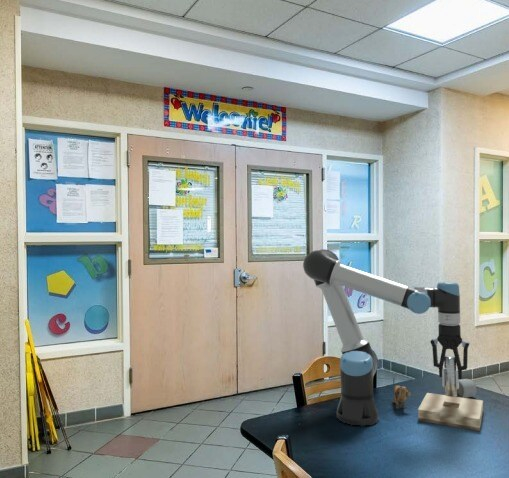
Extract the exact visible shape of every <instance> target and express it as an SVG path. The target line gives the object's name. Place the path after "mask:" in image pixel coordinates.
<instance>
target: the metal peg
mask: <svg viewBox="0 0 509 478" xmlns="http://www.w3.org/2000/svg"><path fill="white" fill-rule="evenodd" d="M443 368H444V369H445V387H444V395H446V396H449V397H456V396H457V389H456V369H457V364H456V360H455V356H453V355H445V357H444V364H443Z"/></svg>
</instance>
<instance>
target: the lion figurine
mask: <svg viewBox="0 0 509 478" xmlns="http://www.w3.org/2000/svg"><path fill="white" fill-rule="evenodd" d="M411 394H412V392H410V391H409V390H408V389H407V387H406V386H404V385H403V386H400V385H395V386H394V390H393V401H392V403H395V405H396V406H395V408H396V409H397V410H398V409H400V404H399V403H400V402H401V408H402V409H406V408H407V407H406V406H405V402H406V400H407V398H409V399H410V396H411Z"/></svg>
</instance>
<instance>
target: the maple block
mask: <svg viewBox="0 0 509 478" xmlns="http://www.w3.org/2000/svg"><path fill="white" fill-rule="evenodd" d="M483 414H484V400H481V399H475V398H474V399H473V398H461V397H449V396H446V395H445V394H439V393H433V392H431V393H430V392H426V394H425V396H424V398H423V399H422V401H421V404H420V405H419V407H418V409H417V419H418V421H419V422H426V423H430V424H431V423H432V424H437V425H443V426H448V427H454V428H460V429H467V430H472V431H479V432H480V431H481V426H482V421H483V416H484V415H483Z"/></svg>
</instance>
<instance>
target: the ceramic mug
mask: <svg viewBox="0 0 509 478" xmlns="http://www.w3.org/2000/svg"><path fill="white" fill-rule="evenodd" d="M477 393H478V388H477V385H476V383H475V382H474V381H473V380H472V379H469V378H463V379H461V380H460V379H459V389H457V396H456V397H461V398H468V399H470V398H473V397H474V396H475V395H477Z"/></svg>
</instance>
